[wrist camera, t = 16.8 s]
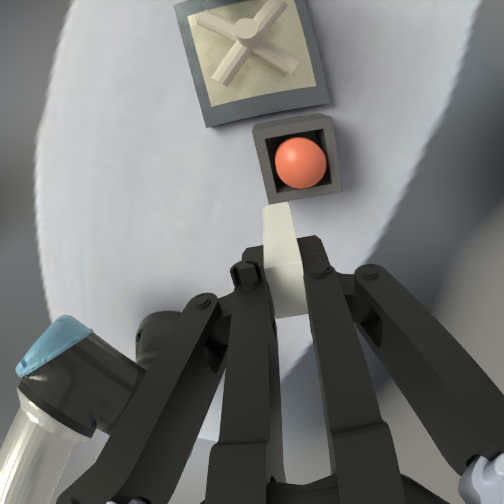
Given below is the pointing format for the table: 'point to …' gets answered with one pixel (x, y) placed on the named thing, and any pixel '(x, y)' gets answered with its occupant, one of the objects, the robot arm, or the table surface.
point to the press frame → (252, 62)
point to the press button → (299, 162)
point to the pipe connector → (248, 40)
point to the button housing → (307, 126)
